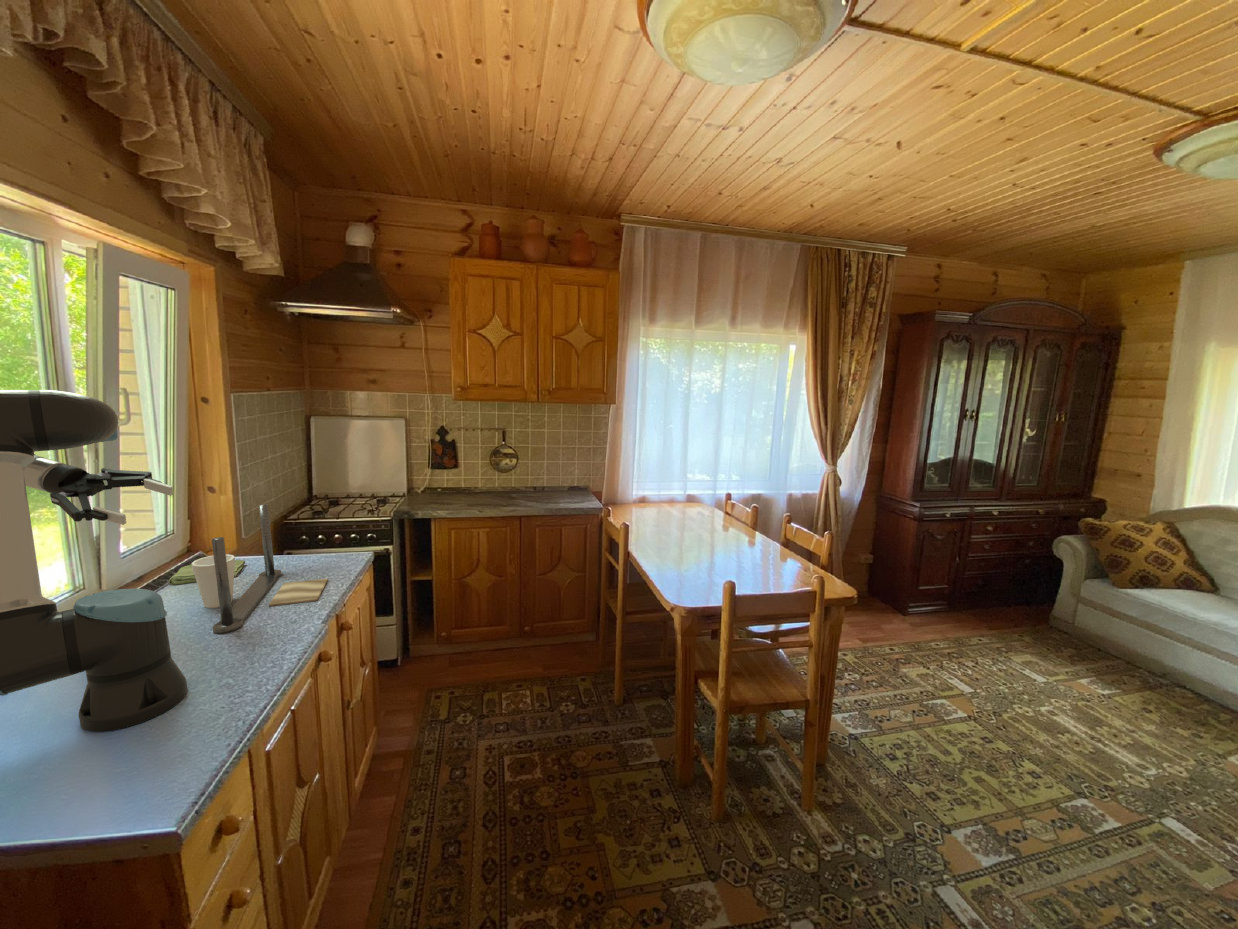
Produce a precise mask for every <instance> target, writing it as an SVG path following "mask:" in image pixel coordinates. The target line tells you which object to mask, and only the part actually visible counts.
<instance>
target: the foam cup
mask: <svg viewBox="0 0 1238 929" xmlns="http://www.w3.org/2000/svg"><path fill="white" fill-rule="evenodd" d="M235 560H236V557H235V555H233V554H227V553H226V561H227V569H228V578H229V587H230V595H231V603H232V602H233V599H234V582H235V577H234V567H235ZM190 565H192V571H193V573H194V575H195V578H196V581H197V582H196V584H197V587H198V590H199V593H200V597H201V600H202V603H203V605H204V608H207V609H215V608H220V606H219V597H218V589H217V581H216V572H215V564H214V556H213V555H209V556H205V557H201V558H198V559H195V560H193V562H191V564H190Z"/></svg>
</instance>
